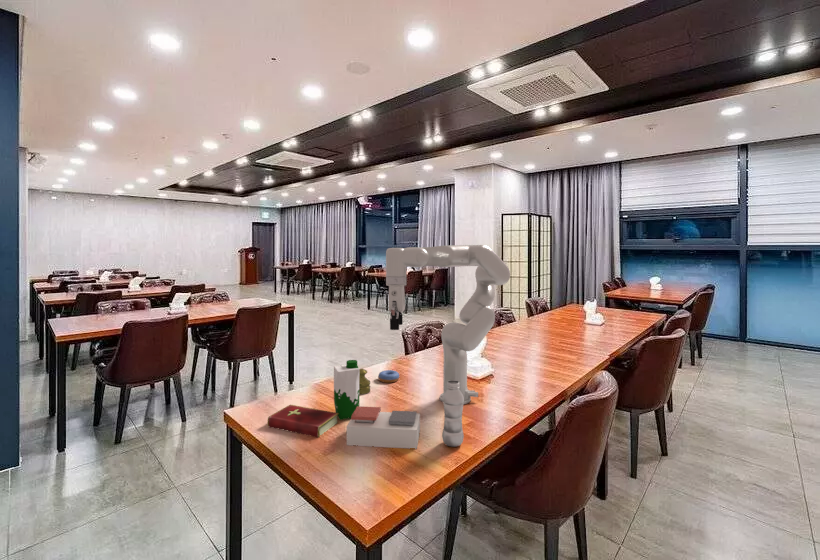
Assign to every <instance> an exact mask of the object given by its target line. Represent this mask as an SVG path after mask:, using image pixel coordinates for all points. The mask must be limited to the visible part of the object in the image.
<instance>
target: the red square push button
mask: <svg viewBox="0 0 820 560" xmlns="http://www.w3.org/2000/svg"><path fill="white" fill-rule="evenodd" d="M381 410H382V407H381V406H379V407H377V406H360V405H359V406H357V408H356V409H355V411H354V413H353V414H352V416H351V418H350V420H351V419H352V420H356V423H374V422H375V421H376V420H377V418H378V415H379V413H380V412H382V411H381Z"/></svg>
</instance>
